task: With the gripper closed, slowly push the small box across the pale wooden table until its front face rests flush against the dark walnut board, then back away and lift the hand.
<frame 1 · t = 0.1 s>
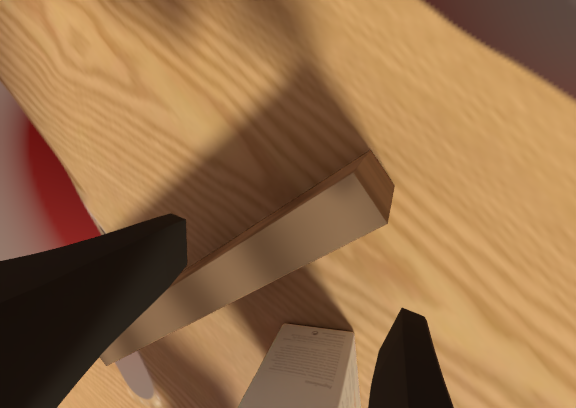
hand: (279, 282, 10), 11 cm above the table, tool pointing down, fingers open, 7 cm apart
walnut board: (241, 253, 23), on the table
small box: (324, 366, 24), on the table
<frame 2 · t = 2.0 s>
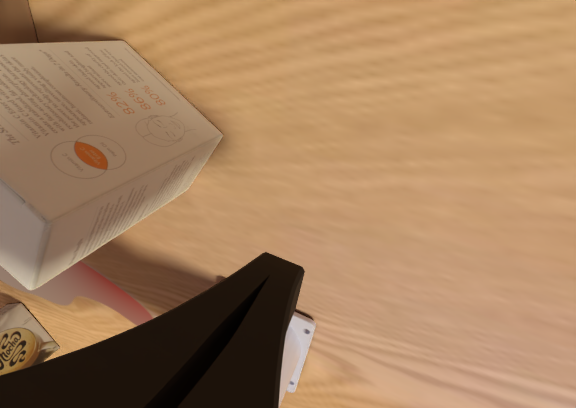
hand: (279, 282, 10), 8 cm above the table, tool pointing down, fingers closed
walnut board: (36, 82, 22), on the table
small box: (163, 120, 20), on the table
coffee box: (35, 325, 47), on the table
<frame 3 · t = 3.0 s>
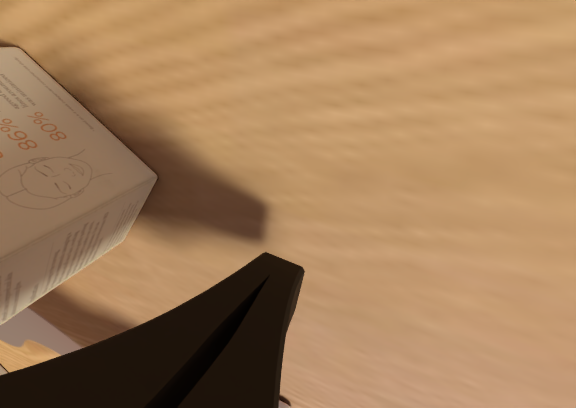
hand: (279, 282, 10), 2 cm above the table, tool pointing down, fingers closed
small box: (85, 153, 15), on the table
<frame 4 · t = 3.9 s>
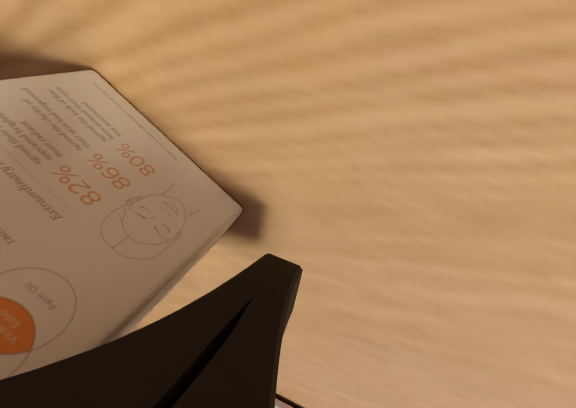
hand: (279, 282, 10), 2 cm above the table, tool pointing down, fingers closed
small box: (154, 180, 14), on the table, touching gripper
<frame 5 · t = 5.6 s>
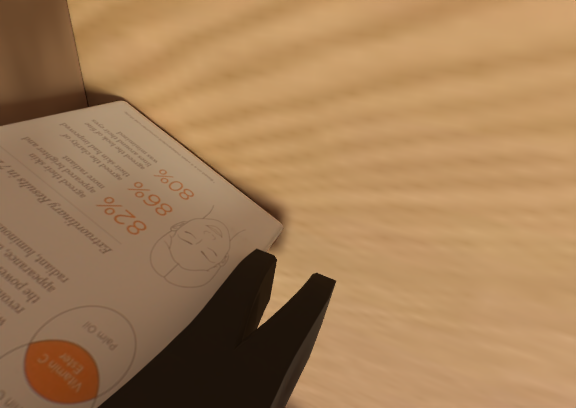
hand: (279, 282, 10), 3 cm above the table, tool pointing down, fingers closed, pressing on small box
walnut board: (80, 165, 15), on the table
small box: (188, 204, 14), on the table, touching gripper, walnut board
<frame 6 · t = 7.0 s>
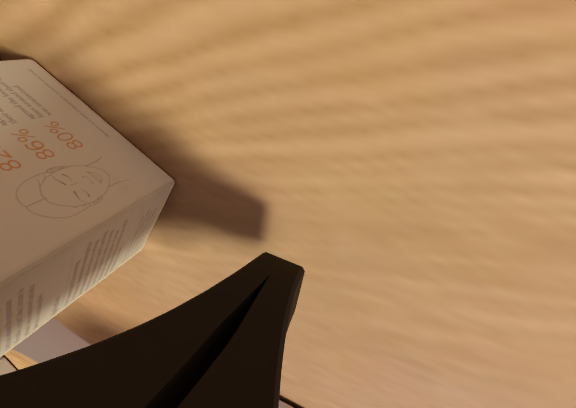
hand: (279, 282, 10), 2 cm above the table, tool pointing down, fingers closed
small box: (100, 162, 15), on the table
coffee box: (21, 378, 41), on the table
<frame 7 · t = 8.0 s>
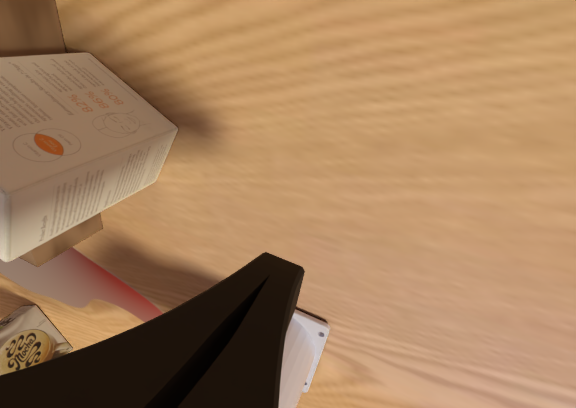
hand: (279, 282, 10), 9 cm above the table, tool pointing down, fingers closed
walnut board: (63, 96, 23), on the table
small box: (129, 120, 22), on the table
coffee box: (48, 326, 48), on the table
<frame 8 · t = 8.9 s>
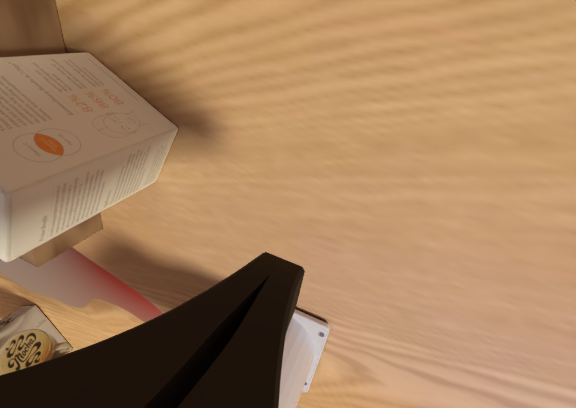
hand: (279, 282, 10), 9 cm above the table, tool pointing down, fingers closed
walnut board: (63, 96, 23), on the table
small box: (129, 120, 22), on the table
coffee box: (48, 326, 48), on the table
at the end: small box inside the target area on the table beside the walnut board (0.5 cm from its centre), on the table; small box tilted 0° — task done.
